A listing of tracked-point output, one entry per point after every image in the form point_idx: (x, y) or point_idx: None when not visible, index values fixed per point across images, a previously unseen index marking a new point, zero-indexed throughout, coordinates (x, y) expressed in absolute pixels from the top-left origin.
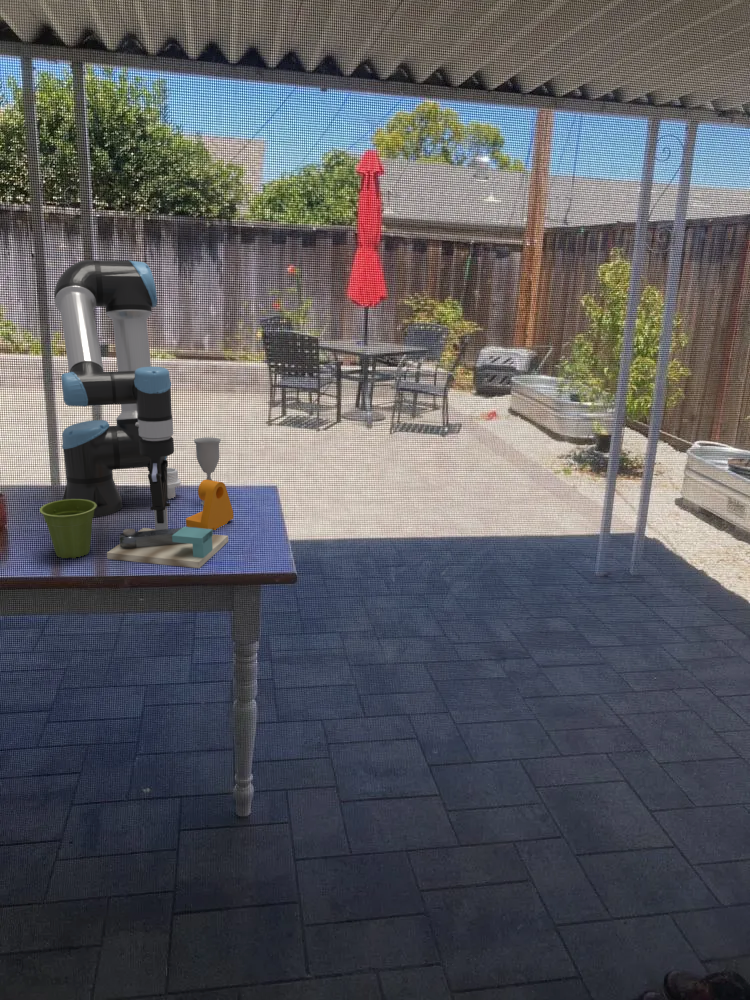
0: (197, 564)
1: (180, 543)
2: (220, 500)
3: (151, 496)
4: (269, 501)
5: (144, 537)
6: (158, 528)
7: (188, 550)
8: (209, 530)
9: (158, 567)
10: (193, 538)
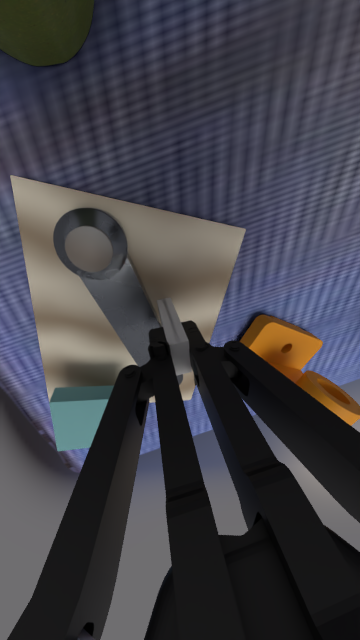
0: None
1: None
2: None
3: (93, 440)
4: (348, 380)
5: (95, 297)
6: (160, 316)
7: (104, 375)
8: None
9: (25, 336)
10: (56, 437)
